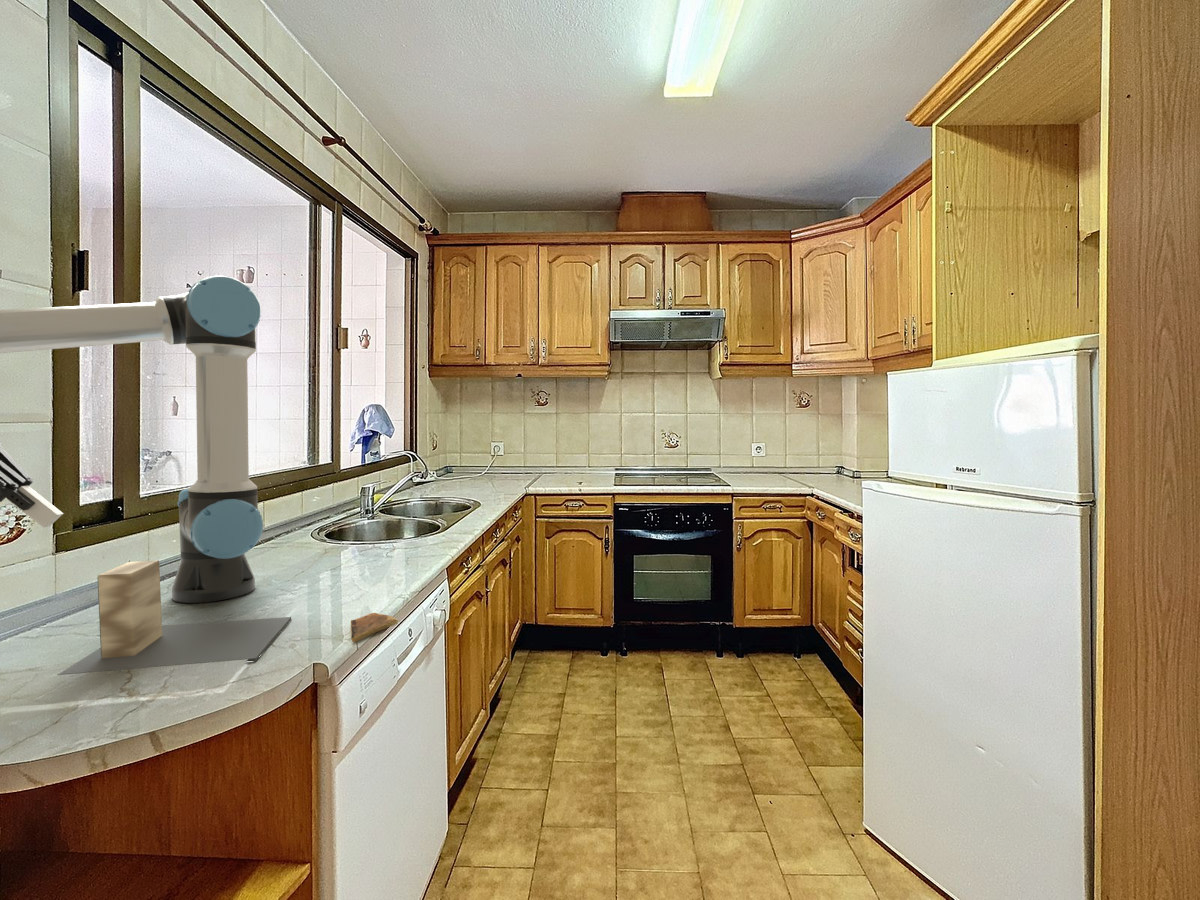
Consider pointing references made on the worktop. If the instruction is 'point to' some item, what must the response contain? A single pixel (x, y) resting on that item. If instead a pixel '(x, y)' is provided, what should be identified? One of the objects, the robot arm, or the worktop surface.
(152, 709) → the worktop surface
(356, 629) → the shard
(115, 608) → the birch block
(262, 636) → the rubber mat
